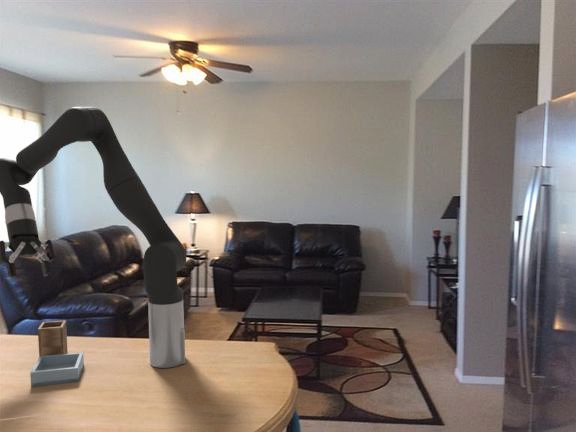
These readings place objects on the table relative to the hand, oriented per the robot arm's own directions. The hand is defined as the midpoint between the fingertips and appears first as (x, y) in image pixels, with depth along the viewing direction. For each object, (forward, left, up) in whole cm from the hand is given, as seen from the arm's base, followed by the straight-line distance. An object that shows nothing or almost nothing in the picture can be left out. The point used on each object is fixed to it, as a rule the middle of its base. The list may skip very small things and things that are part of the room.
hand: (30, 276), depth 136 cm
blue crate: (-9, +15, -23) cm, 29 cm away
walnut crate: (-6, +4, -23) cm, 24 cm away
